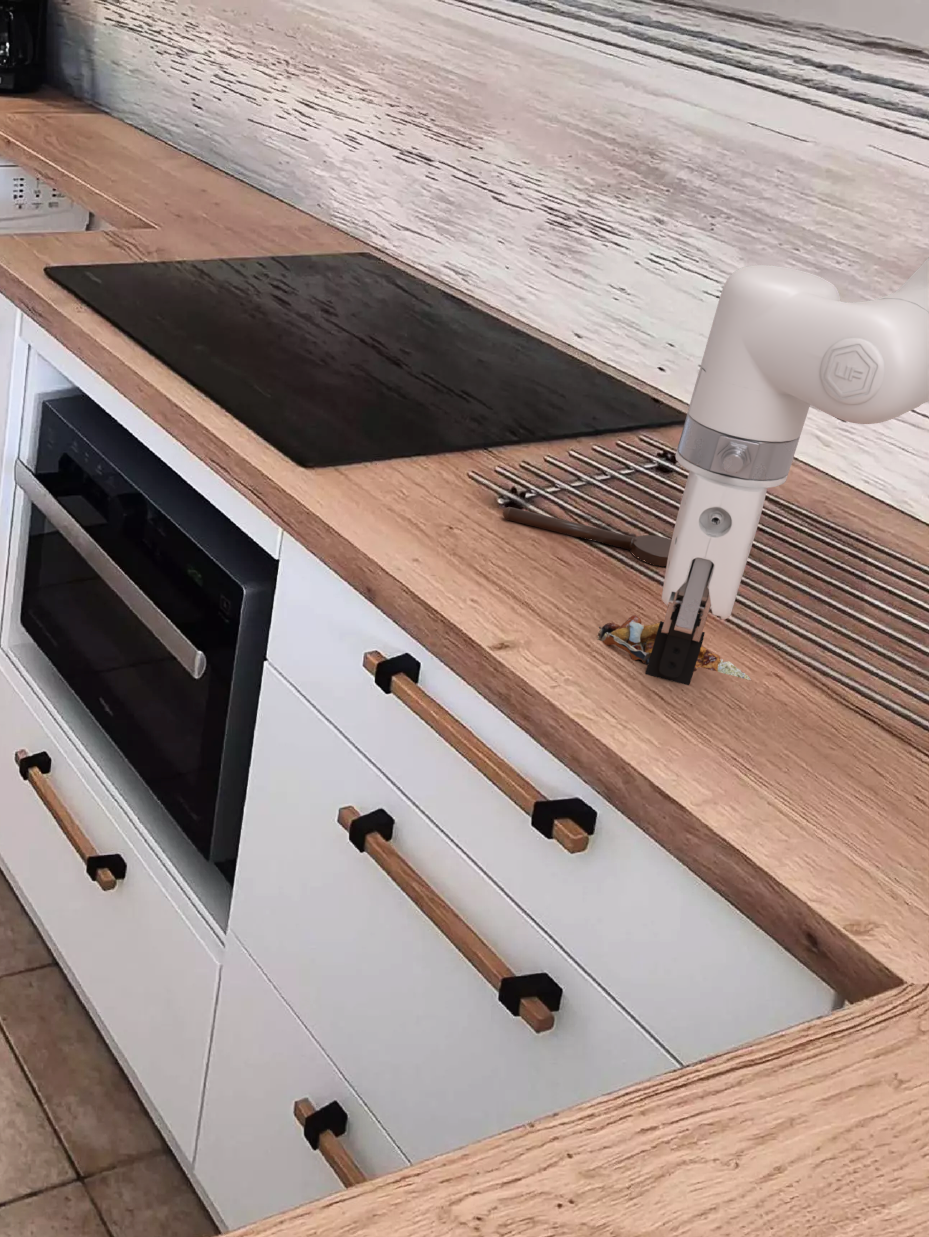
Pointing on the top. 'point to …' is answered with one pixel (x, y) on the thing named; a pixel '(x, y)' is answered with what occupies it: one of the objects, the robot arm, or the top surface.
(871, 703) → the top surface
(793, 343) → the robot arm
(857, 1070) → the top surface
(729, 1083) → the top surface
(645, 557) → the walnut spoon
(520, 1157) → the top surface
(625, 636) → the pastry
